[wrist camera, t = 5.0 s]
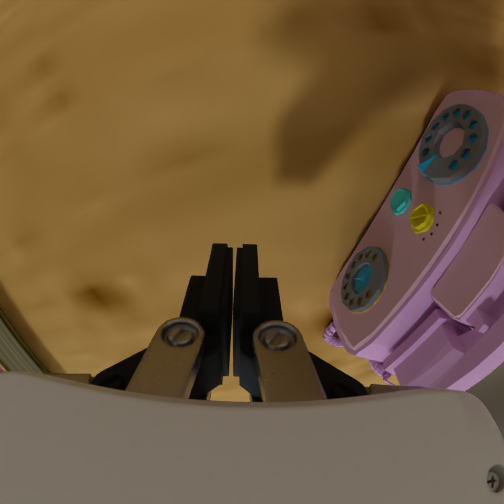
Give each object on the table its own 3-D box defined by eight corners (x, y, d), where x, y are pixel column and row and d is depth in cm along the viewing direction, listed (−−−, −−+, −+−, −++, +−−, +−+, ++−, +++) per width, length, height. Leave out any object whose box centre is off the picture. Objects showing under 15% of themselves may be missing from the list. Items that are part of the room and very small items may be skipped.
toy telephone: (435, 78, 11) (593, 102, 2) (496, 143, 12) (616, 205, 4) (285, 327, 19) (305, 473, 10) (358, 348, 20) (397, 467, 11)
